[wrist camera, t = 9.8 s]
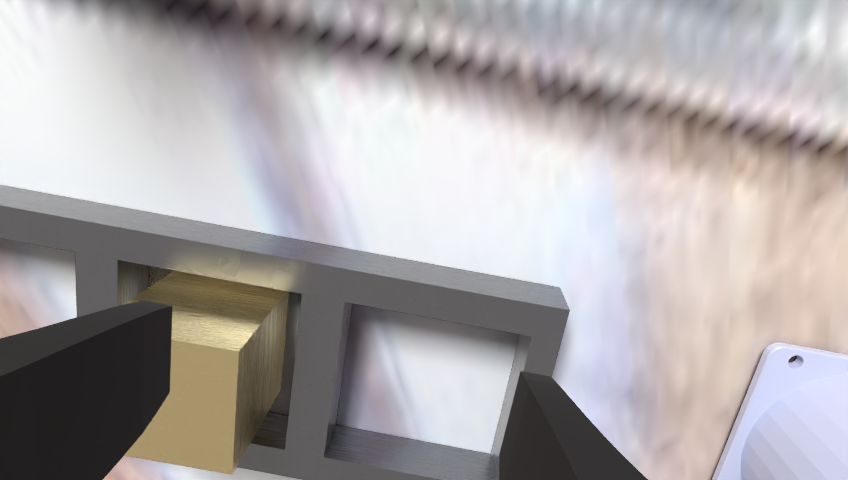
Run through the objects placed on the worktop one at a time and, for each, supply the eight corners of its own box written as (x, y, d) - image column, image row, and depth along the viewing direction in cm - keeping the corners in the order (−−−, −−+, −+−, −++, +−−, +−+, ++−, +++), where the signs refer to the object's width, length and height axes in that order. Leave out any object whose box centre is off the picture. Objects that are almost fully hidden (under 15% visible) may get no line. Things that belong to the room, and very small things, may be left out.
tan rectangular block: (290, 288, 21) (238, 351, 16) (281, 388, 22) (232, 474, 18) (175, 268, 21) (91, 326, 16) (174, 370, 22) (96, 450, 18)
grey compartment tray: (559, 287, 20) (569, 310, 18) (508, 482, 23) (512, 519, 21) (-84, 169, 21) (-140, 179, 19) (-60, 374, 23) (-107, 401, 21)
